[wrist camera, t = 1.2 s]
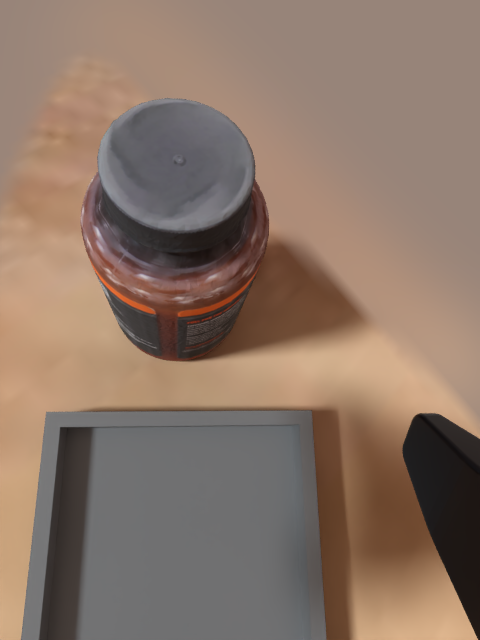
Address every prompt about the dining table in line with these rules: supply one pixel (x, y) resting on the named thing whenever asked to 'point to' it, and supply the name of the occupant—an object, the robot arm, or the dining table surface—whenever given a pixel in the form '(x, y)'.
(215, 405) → the dining table surface
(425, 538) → the dining table surface
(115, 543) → the tray
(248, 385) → the dining table surface
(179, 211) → the supplement bottle
